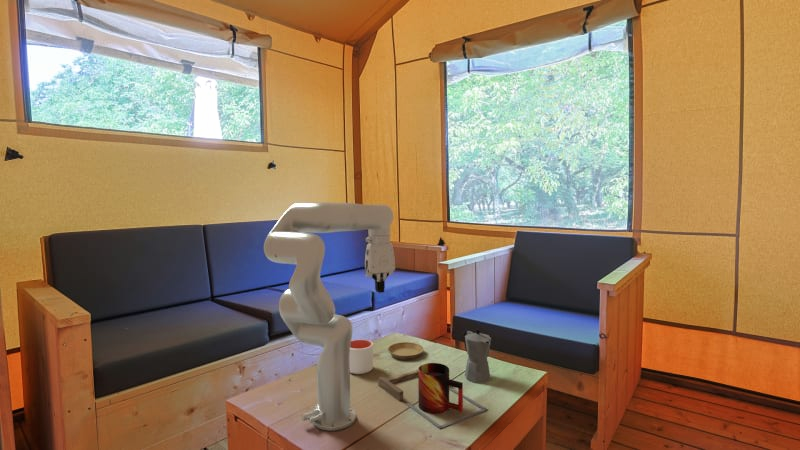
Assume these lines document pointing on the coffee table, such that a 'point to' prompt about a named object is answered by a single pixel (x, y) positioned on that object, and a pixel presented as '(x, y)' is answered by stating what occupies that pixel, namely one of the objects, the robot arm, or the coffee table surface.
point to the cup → (361, 356)
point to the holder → (391, 388)
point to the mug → (437, 389)
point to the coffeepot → (477, 356)
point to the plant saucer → (405, 350)
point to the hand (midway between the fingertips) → (379, 291)
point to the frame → (453, 420)
